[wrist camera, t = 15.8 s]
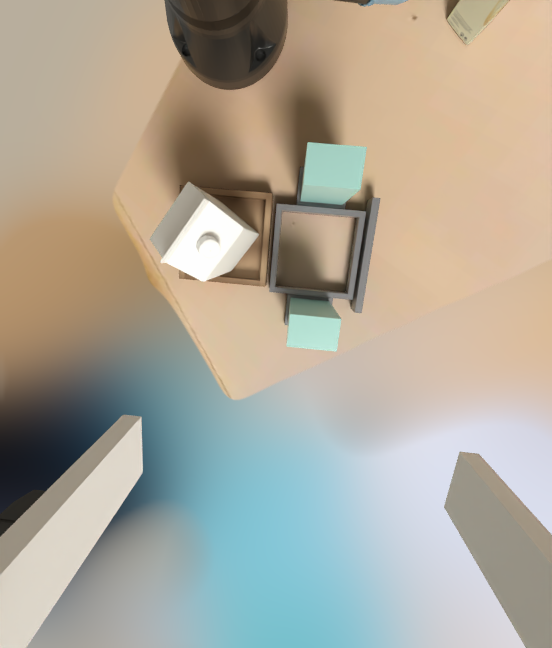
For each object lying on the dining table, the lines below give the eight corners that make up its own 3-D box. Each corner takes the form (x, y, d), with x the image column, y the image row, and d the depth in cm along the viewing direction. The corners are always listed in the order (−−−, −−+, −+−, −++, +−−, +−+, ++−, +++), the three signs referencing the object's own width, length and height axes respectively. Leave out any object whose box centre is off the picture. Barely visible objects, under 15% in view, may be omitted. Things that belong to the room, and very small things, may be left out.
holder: (280, 166, 43) (275, 134, 31) (378, 175, 43) (414, 145, 30) (267, 321, 49) (259, 347, 36) (353, 330, 49) (375, 359, 36)
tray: (186, 188, 45) (179, 185, 42) (273, 196, 44) (272, 193, 42) (185, 276, 48) (179, 278, 45) (266, 284, 48) (264, 286, 45)
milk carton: (194, 241, 46) (129, 237, 28) (222, 202, 44) (172, 170, 26) (231, 271, 47) (191, 287, 28) (259, 234, 45) (237, 225, 27)
